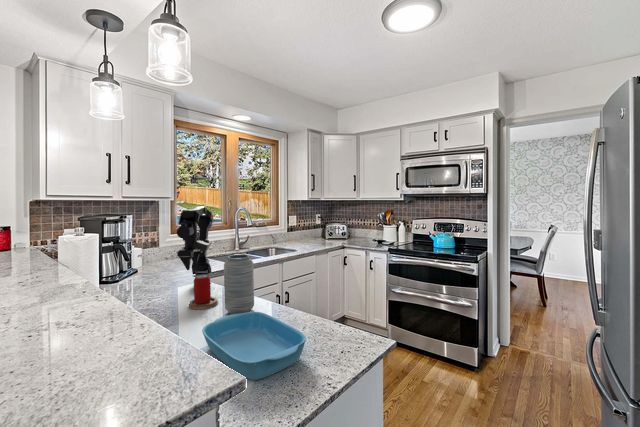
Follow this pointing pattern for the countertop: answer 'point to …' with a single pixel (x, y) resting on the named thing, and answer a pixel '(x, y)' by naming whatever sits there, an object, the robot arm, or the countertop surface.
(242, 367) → the casserole dish
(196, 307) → the coaster
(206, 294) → the beverage can
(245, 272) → the vase
